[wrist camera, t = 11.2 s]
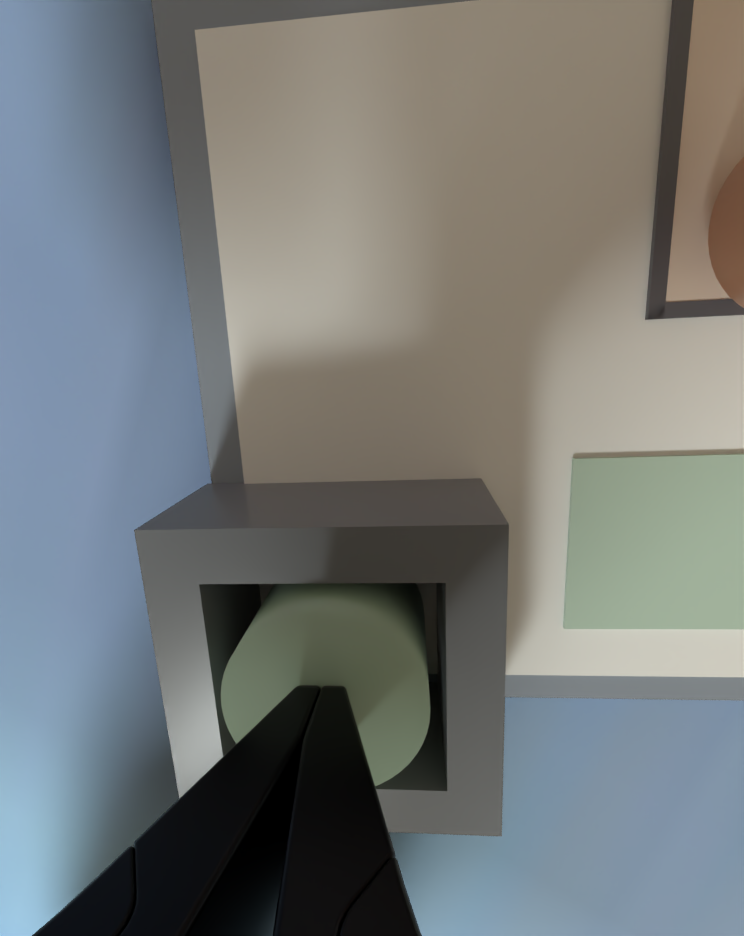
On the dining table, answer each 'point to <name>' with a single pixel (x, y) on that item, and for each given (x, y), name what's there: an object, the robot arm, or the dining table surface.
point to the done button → (339, 663)
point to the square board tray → (458, 354)
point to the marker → (729, 235)
